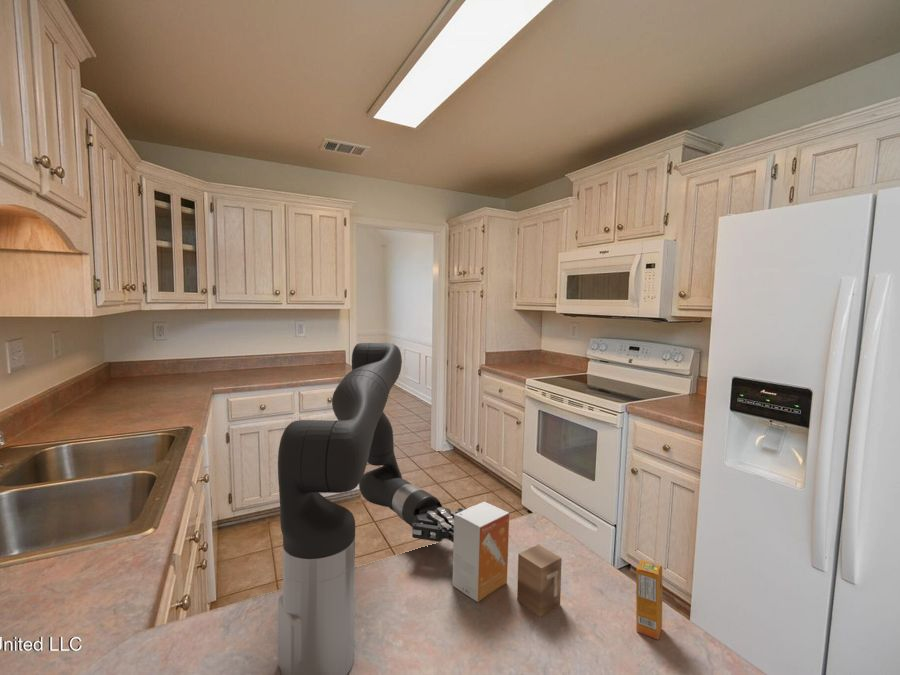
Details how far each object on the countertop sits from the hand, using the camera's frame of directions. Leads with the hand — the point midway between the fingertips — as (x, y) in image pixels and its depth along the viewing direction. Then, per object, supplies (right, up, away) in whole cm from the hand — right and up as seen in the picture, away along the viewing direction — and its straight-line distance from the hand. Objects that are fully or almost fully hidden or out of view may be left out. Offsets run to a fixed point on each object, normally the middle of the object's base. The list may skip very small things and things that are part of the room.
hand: (466, 541), depth 77 cm
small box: (+2, -6, -3) cm, 7 cm away
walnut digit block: (+12, -7, -7) cm, 15 cm away
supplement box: (+27, -7, -13) cm, 31 cm away
